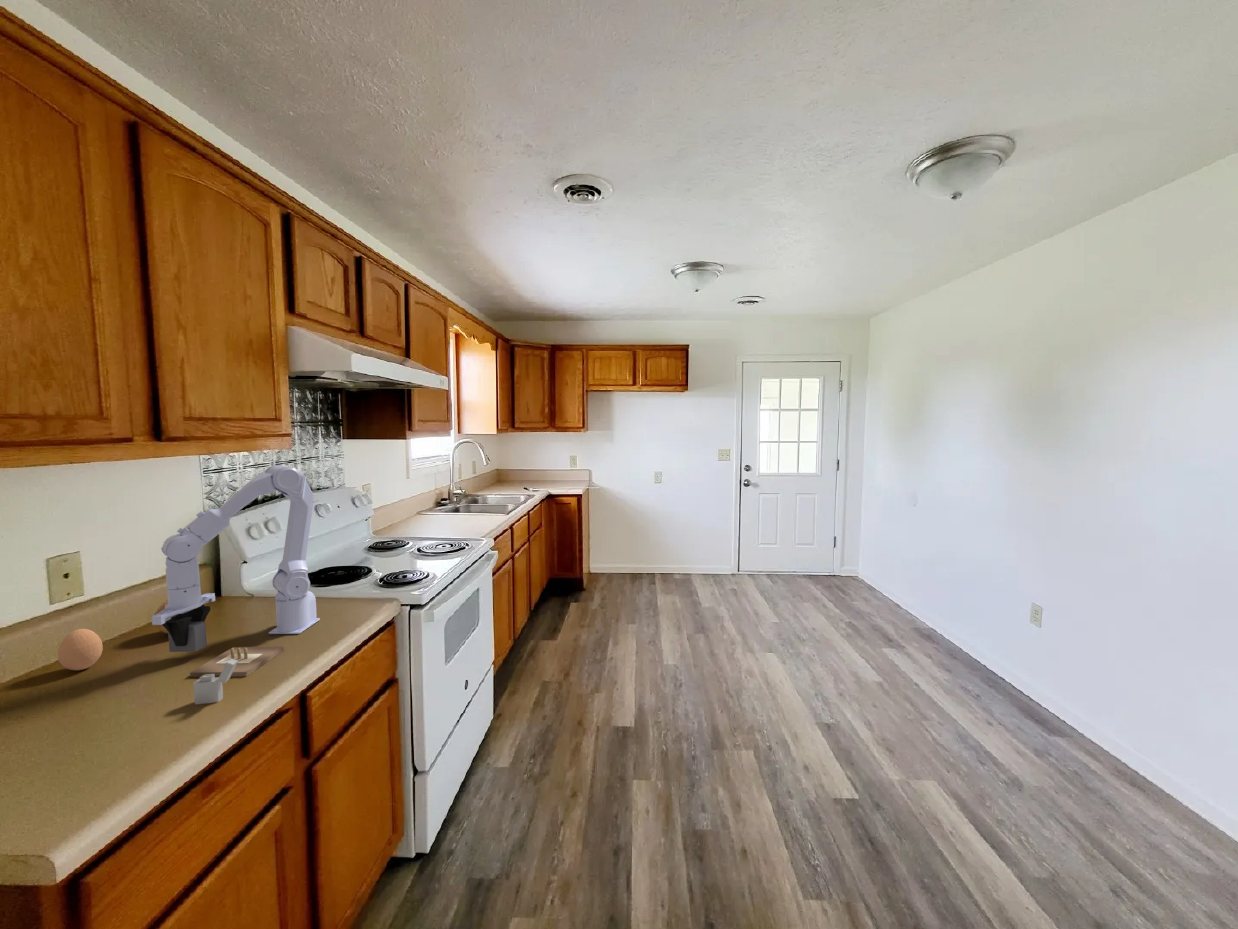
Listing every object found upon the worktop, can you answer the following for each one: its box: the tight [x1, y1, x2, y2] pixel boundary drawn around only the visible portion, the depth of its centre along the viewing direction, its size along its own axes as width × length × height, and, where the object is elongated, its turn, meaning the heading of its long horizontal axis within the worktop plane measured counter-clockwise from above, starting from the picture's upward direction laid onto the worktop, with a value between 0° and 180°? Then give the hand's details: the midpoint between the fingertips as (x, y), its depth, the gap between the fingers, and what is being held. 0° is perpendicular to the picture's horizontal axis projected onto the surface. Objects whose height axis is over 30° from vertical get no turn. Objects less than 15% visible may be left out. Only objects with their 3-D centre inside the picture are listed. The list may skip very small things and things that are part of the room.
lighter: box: [192, 659, 238, 705], centre depth 94 cm, size 7×2×8 cm, turn 103°
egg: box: [57, 628, 104, 671], centre depth 106 cm, size 7×7×9 cm
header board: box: [189, 646, 285, 678], centre depth 109 cm, size 12×12×4 cm
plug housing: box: [167, 620, 208, 653], centre depth 112 cm, size 3×6×6 cm, turn 92°
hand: (188, 642), depth 112 cm, fingers closed on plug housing, 3 cm apart
